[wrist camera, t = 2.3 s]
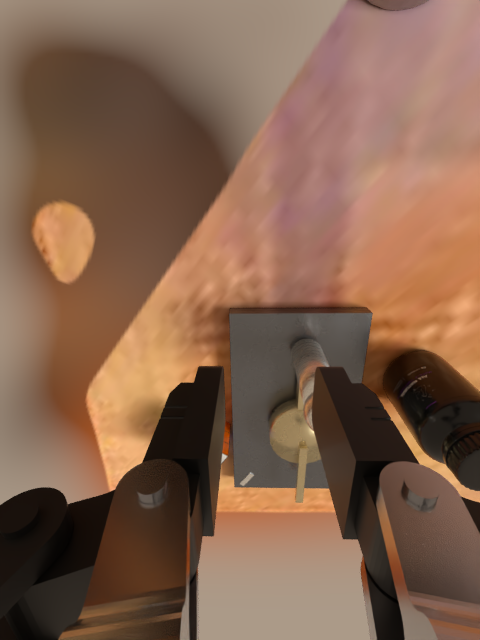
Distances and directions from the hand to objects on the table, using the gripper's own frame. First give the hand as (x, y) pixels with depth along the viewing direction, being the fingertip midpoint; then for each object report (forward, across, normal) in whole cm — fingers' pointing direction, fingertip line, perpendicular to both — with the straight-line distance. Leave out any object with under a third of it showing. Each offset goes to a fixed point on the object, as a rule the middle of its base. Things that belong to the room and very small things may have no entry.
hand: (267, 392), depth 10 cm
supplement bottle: (+21, -17, +13) cm, 30 cm away
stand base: (+21, -4, +16) cm, 27 cm away
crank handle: (+19, -5, +17) cm, 26 cm away
